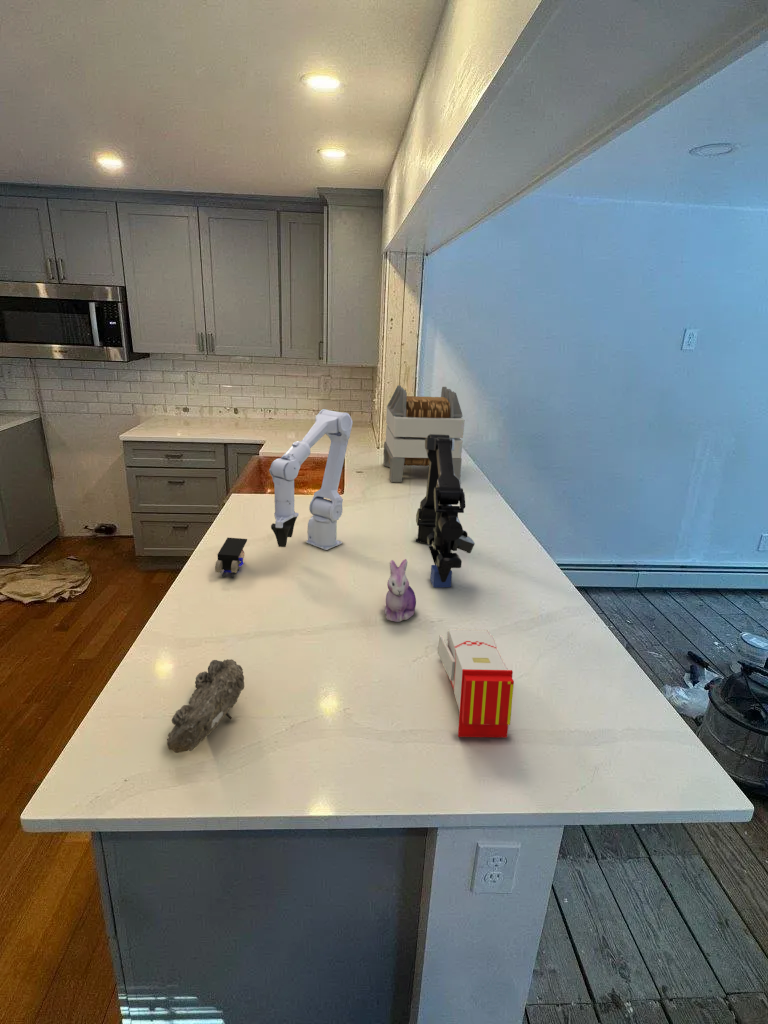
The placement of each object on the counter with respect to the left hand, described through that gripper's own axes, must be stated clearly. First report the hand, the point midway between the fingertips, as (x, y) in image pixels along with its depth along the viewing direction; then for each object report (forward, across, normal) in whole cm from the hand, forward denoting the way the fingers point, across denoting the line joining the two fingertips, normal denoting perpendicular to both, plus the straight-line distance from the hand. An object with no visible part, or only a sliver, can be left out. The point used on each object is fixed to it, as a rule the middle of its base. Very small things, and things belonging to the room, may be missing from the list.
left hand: (285, 541), depth 171 cm
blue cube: (+7, -6, -47) cm, 48 cm away
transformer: (+7, +110, -39) cm, 117 cm away
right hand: (+5, -6, -47) cm, 48 cm away
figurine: (+7, -26, -36) cm, 45 cm away
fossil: (+7, -70, -3) cm, 70 cm away
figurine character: (+7, -8, +14) cm, 17 cm away
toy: (+7, -56, -53) cm, 77 cm away
